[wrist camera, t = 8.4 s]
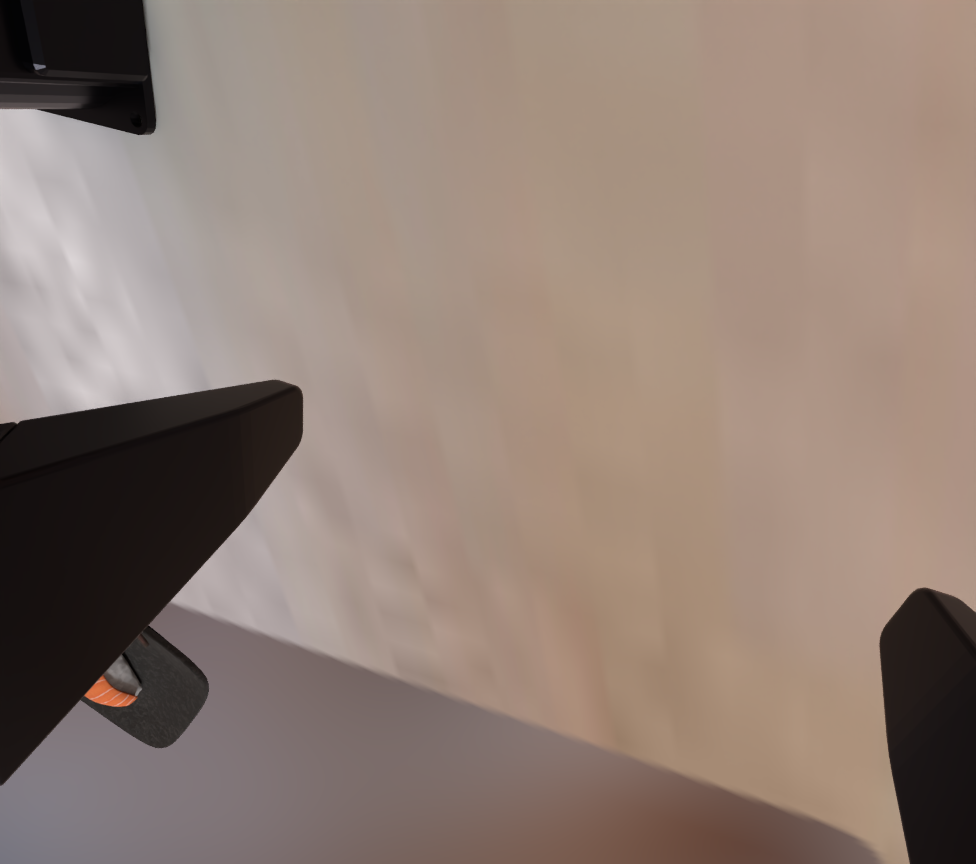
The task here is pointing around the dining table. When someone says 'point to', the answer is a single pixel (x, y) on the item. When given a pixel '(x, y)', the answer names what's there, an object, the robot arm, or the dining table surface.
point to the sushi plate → (150, 691)
